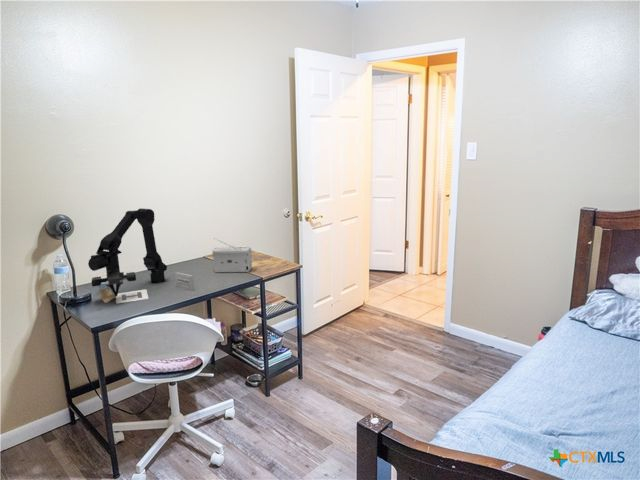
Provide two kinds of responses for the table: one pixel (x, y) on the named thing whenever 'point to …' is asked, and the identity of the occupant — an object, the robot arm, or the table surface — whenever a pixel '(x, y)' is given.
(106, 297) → the oak block
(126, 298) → the letter plate
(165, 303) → the table surface
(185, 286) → the cassette
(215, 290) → the table surface
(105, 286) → the slate-blue cube
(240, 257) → the stereo radio cassette player
